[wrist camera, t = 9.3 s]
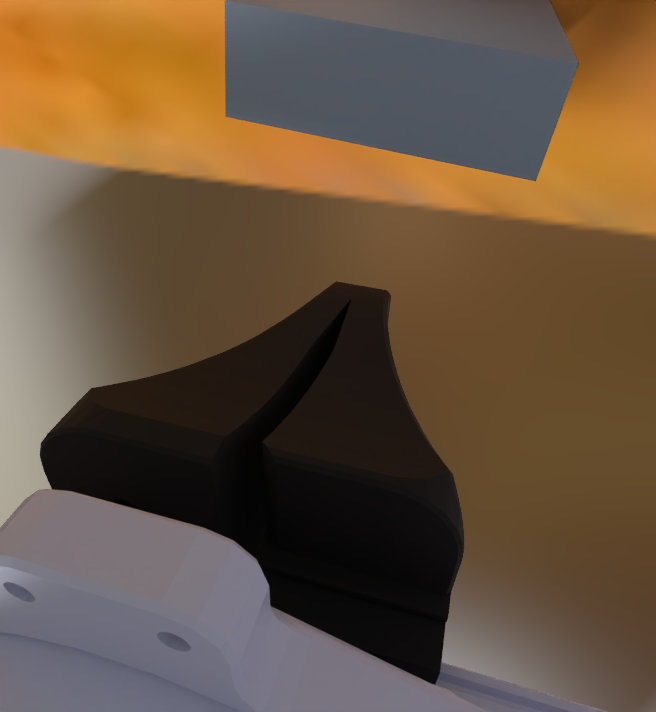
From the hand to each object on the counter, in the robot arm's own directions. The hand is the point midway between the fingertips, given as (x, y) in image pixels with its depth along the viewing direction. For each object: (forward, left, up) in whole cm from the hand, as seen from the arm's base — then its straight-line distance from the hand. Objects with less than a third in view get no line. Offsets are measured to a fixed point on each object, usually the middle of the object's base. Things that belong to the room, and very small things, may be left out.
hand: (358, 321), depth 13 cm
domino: (+6, 0, -7) cm, 9 cm away
